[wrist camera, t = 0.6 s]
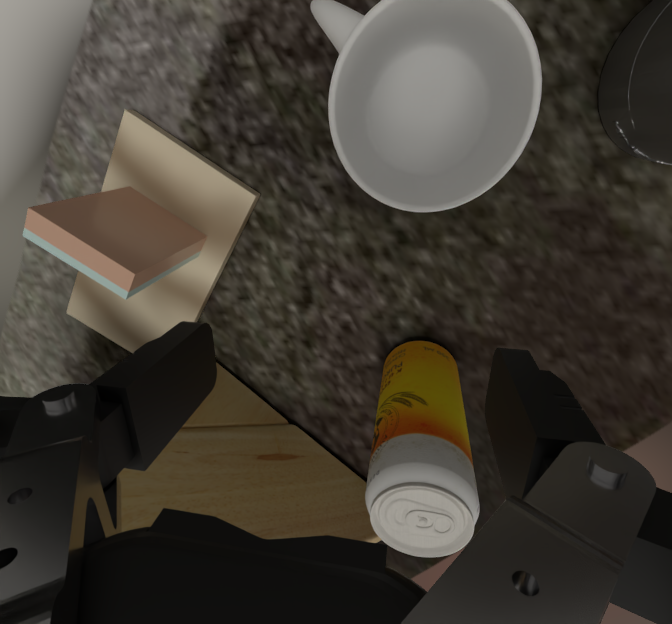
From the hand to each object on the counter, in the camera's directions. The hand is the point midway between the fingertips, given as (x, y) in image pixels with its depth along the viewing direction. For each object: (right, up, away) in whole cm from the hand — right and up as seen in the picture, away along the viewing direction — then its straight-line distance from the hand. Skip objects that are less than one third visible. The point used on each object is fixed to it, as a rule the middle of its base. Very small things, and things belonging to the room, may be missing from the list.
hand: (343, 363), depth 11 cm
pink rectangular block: (-14, +9, +20) cm, 26 cm away
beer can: (+7, -3, +23) cm, 24 cm away
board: (-16, +6, +23) cm, 28 cm away
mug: (+4, +16, +15) cm, 22 cm away
